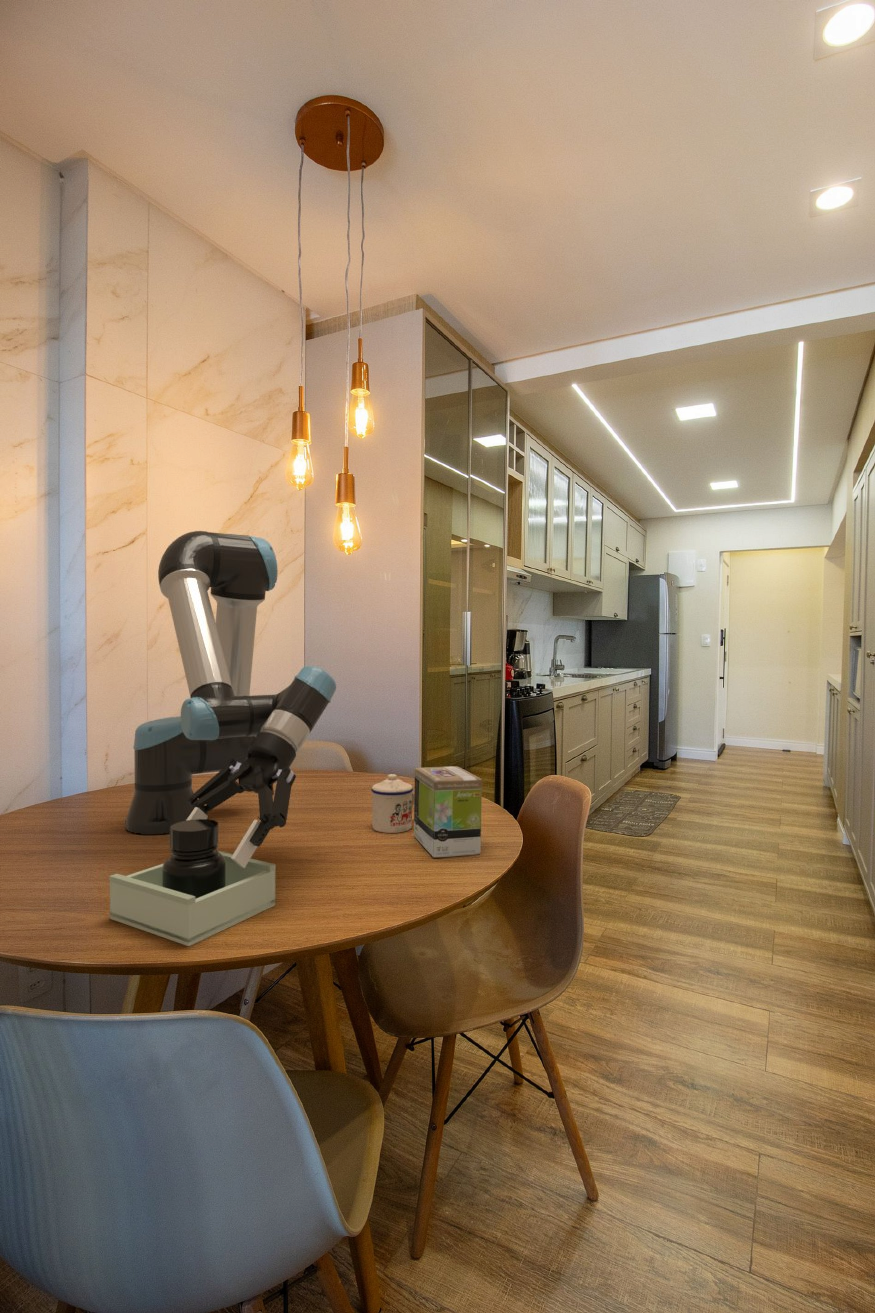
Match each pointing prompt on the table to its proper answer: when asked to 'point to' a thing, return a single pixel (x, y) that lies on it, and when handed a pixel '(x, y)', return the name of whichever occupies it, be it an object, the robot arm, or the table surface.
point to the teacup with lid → (392, 805)
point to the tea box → (448, 811)
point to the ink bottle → (194, 859)
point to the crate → (191, 901)
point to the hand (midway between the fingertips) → (206, 855)
